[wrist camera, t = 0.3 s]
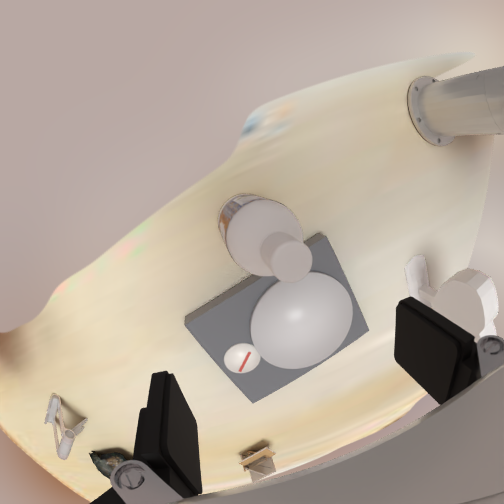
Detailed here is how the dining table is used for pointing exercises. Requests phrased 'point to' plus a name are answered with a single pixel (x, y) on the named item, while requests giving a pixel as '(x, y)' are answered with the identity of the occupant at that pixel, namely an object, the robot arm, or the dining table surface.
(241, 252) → the bath foam
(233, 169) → the dining table surface
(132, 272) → the dining table surface
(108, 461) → the decorative rock
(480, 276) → the heart sculpture
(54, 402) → the portable electronic device stand
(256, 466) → the architectural model
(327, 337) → the dial scale
